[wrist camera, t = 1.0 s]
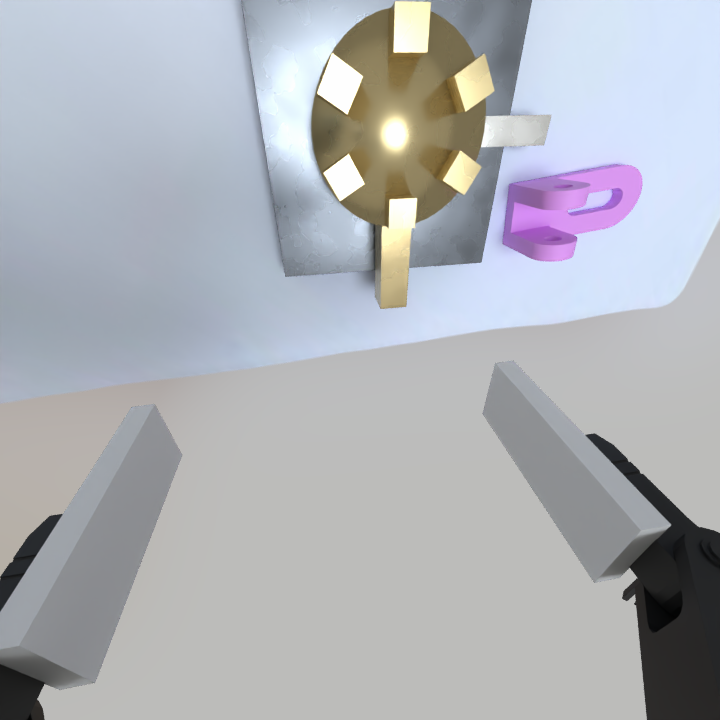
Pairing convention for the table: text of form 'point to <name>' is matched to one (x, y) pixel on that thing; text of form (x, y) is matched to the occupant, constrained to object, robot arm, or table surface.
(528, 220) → the bracket
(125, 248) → the table surface
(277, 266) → the table surface
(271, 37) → the base plate
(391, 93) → the brass notched disc handle
